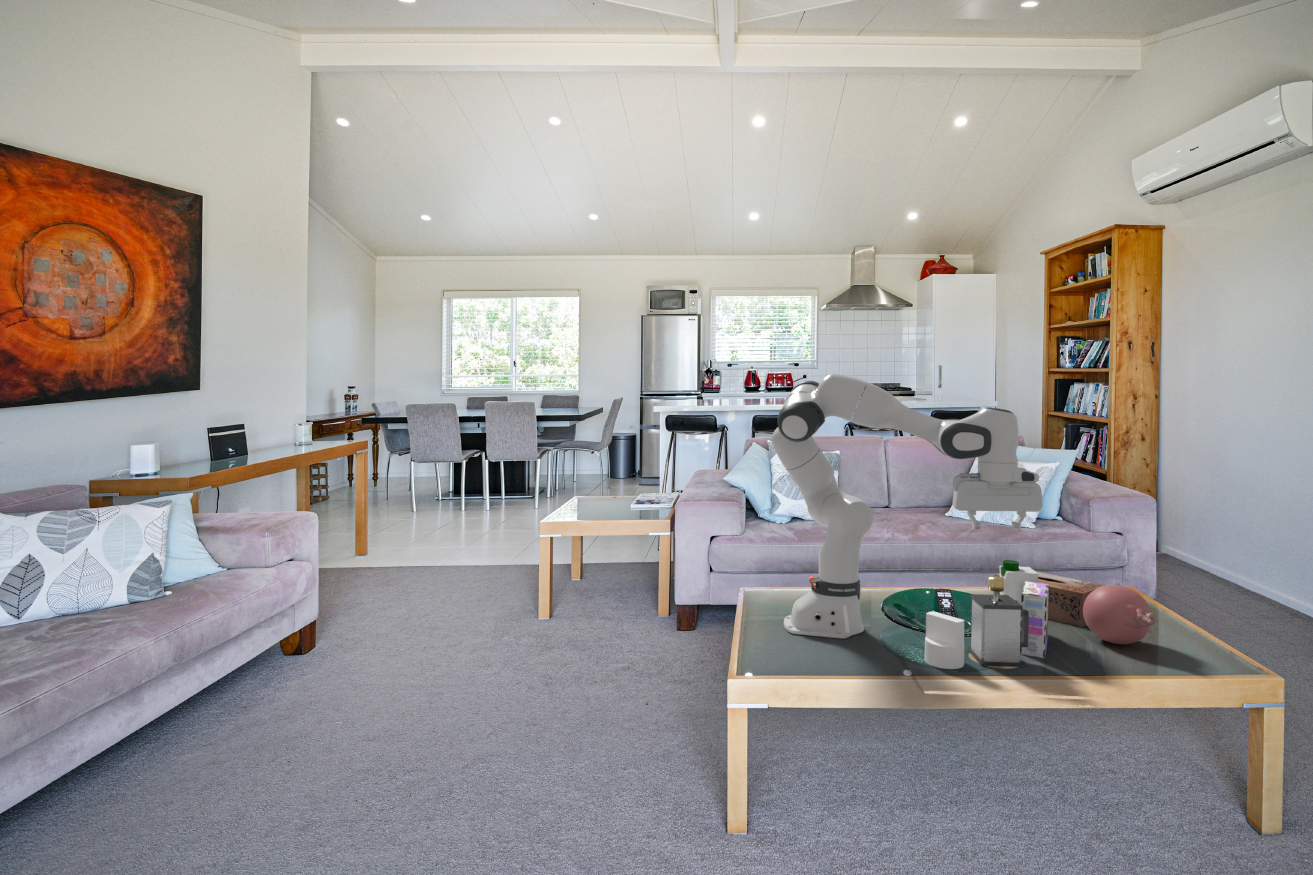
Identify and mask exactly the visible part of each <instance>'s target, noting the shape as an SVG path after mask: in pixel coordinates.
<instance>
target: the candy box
mask: <svg viewBox="0 0 1313 875" xmlns="http://www.w3.org/2000/svg"><path fill="white" fill-rule="evenodd" d="M1021 605H1022V606H1023V609H1025V610H1027V611H1029V629H1028V647H1020V655H1022V656H1023V655H1024V656H1028V657H1029V656H1030V657H1035V658H1041V659H1046V654H1047V646H1048V629H1049V628H1048V627H1049V619H1048V584H1044V583H1036V582H1027V581H1025V585H1024V587H1023V591H1022V595H1021ZM1021 628H1022V615H1021V627H1020V641H1021Z"/></svg>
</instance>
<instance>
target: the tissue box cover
mask: <svg viewBox="0 0 1313 875" xmlns="http://www.w3.org/2000/svg"><path fill="white" fill-rule="evenodd" d="M1034 571H1035V572H1037V573H1038V583H1044V584H1048V620H1053V621H1056V622H1061V623H1064V624H1068V625H1073V626H1077V627H1080V628H1083V627H1086V626H1087V624H1086V622H1085V619H1084V616H1083V605H1084V602H1085V600H1086V598H1087V596H1088V595H1089V594H1090V593H1091V592H1092V591H1094V590H1095V589H1097V588H1099V587H1102V586H1106V584H1101V583H1098V582H1092V581H1086V580H1082V579H1076V578H1073V577H1067V576H1061V575H1058V574H1057V575H1056V574H1052V573H1047V572H1046V573H1045V572H1043V571H1042V572H1041V571H1038V570H1037V571H1036V570H1034ZM994 576H999V577H1000V572H999V573H996V574H994ZM998 595H1000V592H998Z"/></svg>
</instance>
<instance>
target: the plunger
mask: <svg viewBox="0 0 1313 875" xmlns="http://www.w3.org/2000/svg"><path fill="white" fill-rule="evenodd" d="M987 580H988V581H987V584H988V585H987V590H989V591H990V592H993V595H994V601H998V592H1003V591H1004V580H1005V579H1004V578H1003V577H999V576H995V575H990V576H988V577H987Z"/></svg>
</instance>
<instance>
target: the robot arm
mask: <svg viewBox="0 0 1313 875" xmlns="http://www.w3.org/2000/svg"><path fill="white" fill-rule="evenodd" d="M828 417H837V418H841V419H843V420H846V421H848V422H850V423H853V424H856V425H859V426H862V427H865V428H866V427H867V428H870V429H876V430H877V429H878V430H881V429H883V430H884V429H891V430H897V431H902V432H904V433H907V434H908V435H912V436H915V437H917V438H920V439H922V440H925V441H927V442H929V443H930V444H932V446H933V447H934V448H936V450H938V452H940V453H942V454H943V455H945V456H946V457H949V458H951V459H954V460H961V461H963V460H964V461H965V460H968V459H972V458H974V459H975V458H977V472H969V473H968V472H967V473H966V472H961V473H959V474H957V475H956V476H954V477H953V480H952V481H953V483H952V487H953V489H954V490H953V495H952V506H953V508H954V509H955V510H957V511H960V512H961V511H962V512H966V514H967V515H968V517H969V519H970V521H971V528H972V529H973V530H981V521H979V520H977V519H976V517H975V516H976V515H977V512H1016V515H1017V518H1016V519H1015V520H1014V521H1011V529H1012V530H1016V531H1018V530H1019V531H1020V530H1021V526H1022V525H1021V524H1022V522H1023V521H1024V519H1025V518H1026V517H1027V512H1035V513H1038V512H1040V511H1041V509H1042V508H1043V494H1042V493H1043V492H1042V487H1041V486H1040V484H1039V483H1038V482H1039V480H1040V475H1039V474H1038V473H1036V472H1034V471H1030V470H1027V469H1025V468H1023V467H1019V466H1018V465H1019V462H1018V461H1019V460H1018V456H1017V449H1018V447H1019V423H1018V419H1017V415H1016V414H1015V413H1014V412H1012V411H1010V410H1008V409H1004V408H998V407H997V408H996V407H991V406H987V407H983V408H982V409H981V410H979V411H977V412H976V413H974V414H971V415H969V416H967V417H965V418H962V419H958V418H947V419H942V418H941V419H940V418H937V417H933V416H931V415H928V414H926V413H924V412H920V411H918V410H915V409H912V408H910V407H908V406H906V405H904V404H903V403H902V402H901V401H900V400H898V399H897V397H895V396H894V395H893V394H892V393H890V392H889V391H887V390H885V389H884V388H882V387H880V386H878V385H876V384H873V383H871V382H867V381H865V380H863V379H859V378H856V377H853V376H848V375H844V374H838V373H831V374H828V375H826V376H825V377H824V378H823V379H821V380H820V381H819V382H817V381H815V380H805V381H802V382H799V383H798V384H796V385H795V386H794V387H793V388H792V390H791V391H790V393H789V394H788V395H787V397H786V398H785V400H784V402H783V405H782V408H781V409H780V411H779V412H778V416H777V427H776V429H774V431H773V433H772V435H771V444H772V446H773V449H774V450H775V452H776V454H777V457H778V459H779V460H780V462H781V464H782V466H783V467H784V468H785V470H786V471H787V473H788V474H789V476H790V477H791V480H792V481H793V482H794V483H795V484H796V486H797V488H798V489H799V491H800V493H801V495H802V497H803V499H804V502H805V504H806V507H807V514H808V515H809V517H811V519H813V521H815V523H816V524H818V525H820V526H822V527H824V528H826V536H825V539H824V543H823V545H822V546H821V547H820V548H819V551H818V577H815V576H814V575H811V576H809V577H808V582H809V583H810V584H811V586H810V587H811V590H809V591H808V592H807V593H806V594H804V595H802V596H801V597H799V598H798V599H797V600H796V601H795V602H794V603H793V606H792V609H791V614H789V615H787V616H785V617H784V619H783V627H784V629H785V630H786V632H788V633H791V634H793V635H803V636H813V637H822V638H823V637H824V638H833V639H834V638H835V639H847V638H849V637H851V636H854V635H855V636H856V635H858V634H860V633H862V632H864V631H865V627H864V624H863V619H862V614H861V608H860V607H861V606H860V598H861V580H860V578H859V566H860V565H859V564H860V563H859V560H860V551H861V546H862V544H863V539H864V537H865V534H866V533H867V532H868V531H869V530H870V529H871V527H872V526H873V523H874V513H873V509H872V507H871V506H870V505H868V504H867V503H866V502H865V501H863V500H862V499H861V498H860V497H857V496H854V495H852V494H847V493H845V492H844V491H842V489H841V488H840V486H839V485H838V483H837V481H836V478H835V470H834V467H833V466H832V464H831V462H830V461H829V459H828V457H826V455H825V454H824V452H823V451H822V450H821V448H820V446H819V445H818V443H817V441H815V438H814V437H813V436H814V434H816V433H817V431H818V430H819V429H820V428H821V427H822V426H823V425H824V423H825V422H826V419H827V418H828Z"/></svg>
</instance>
